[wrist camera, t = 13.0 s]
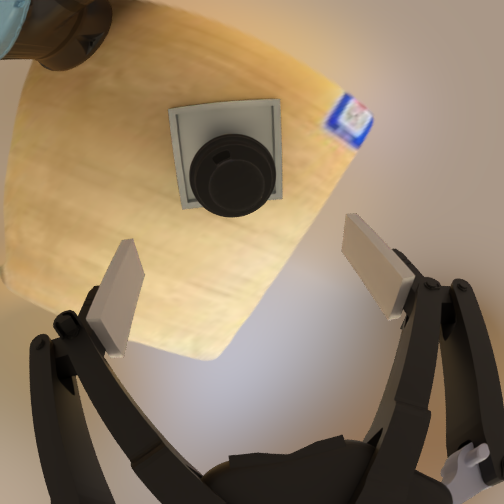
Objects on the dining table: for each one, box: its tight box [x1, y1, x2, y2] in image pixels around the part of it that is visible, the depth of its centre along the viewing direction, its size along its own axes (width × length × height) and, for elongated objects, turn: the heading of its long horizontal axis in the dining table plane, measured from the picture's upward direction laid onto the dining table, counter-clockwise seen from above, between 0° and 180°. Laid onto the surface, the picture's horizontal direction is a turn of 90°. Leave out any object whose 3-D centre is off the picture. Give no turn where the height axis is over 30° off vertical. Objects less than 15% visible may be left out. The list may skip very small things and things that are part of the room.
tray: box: [168, 99, 282, 210], centre depth 39 cm, size 16×16×2 cm
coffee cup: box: [189, 134, 276, 217], centre depth 33 cm, size 9×9×15 cm
